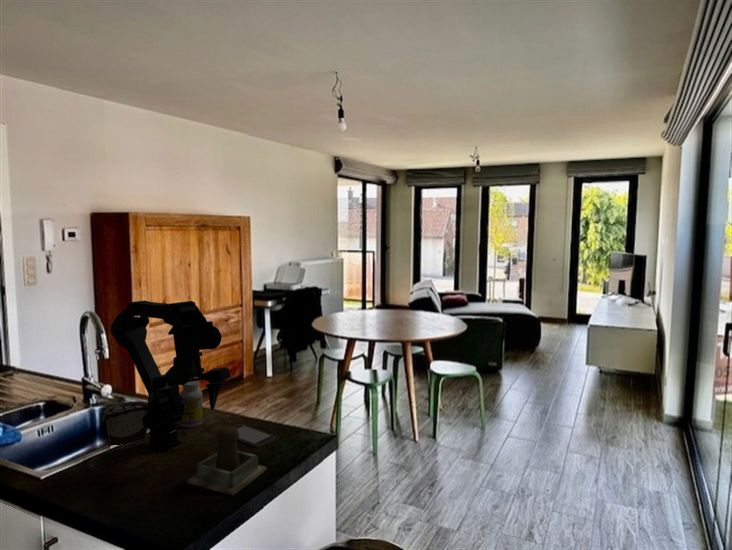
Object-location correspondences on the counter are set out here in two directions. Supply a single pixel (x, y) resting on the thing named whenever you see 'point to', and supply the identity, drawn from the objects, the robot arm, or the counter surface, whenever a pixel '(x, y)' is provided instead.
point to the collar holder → (227, 474)
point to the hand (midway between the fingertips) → (195, 411)
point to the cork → (227, 449)
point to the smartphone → (253, 436)
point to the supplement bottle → (191, 405)
